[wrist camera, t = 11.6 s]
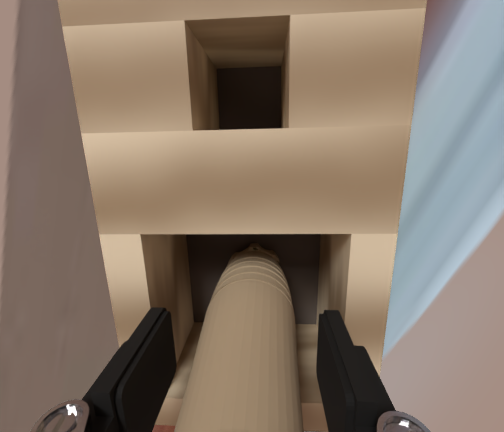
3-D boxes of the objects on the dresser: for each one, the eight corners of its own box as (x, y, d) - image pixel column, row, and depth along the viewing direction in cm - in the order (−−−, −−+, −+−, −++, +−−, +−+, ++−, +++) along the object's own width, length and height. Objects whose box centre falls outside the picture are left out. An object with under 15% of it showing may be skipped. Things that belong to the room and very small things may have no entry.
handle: (312, 238, 17) (626, 851, 2) (266, 318, 18) (268, 985, 4) (242, 205, 16) (58, 654, 2) (202, 289, 18) (-71, 889, 3)
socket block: (136, 26, 14) (48, -55, 9) (364, 14, 14) (437, -82, 8) (172, 340, 19) (132, 423, 14) (340, 344, 19) (372, 433, 13)
